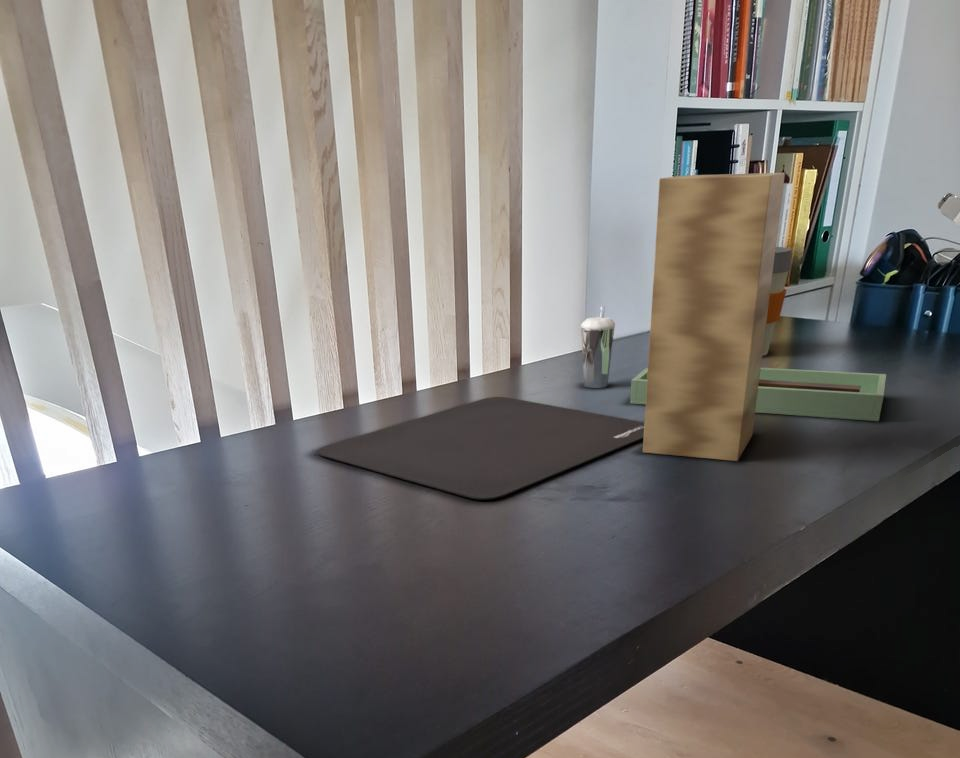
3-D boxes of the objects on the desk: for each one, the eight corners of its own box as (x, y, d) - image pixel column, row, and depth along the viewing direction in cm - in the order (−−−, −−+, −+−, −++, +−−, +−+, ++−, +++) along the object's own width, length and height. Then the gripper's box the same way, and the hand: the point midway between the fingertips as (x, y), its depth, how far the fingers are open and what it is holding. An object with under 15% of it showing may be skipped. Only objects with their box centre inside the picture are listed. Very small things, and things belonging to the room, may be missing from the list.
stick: (857, 402, 106) (860, 385, 105) (856, 406, 104) (859, 389, 103) (665, 388, 115) (667, 373, 114) (662, 392, 113) (663, 376, 112)
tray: (881, 398, 109) (886, 374, 107) (878, 421, 100) (883, 395, 98) (652, 384, 120) (653, 361, 118) (630, 403, 111) (631, 380, 109)
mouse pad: (487, 503, 79) (487, 501, 79) (308, 452, 95) (308, 450, 95) (668, 428, 99) (668, 426, 99) (495, 396, 115) (495, 395, 115)
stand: (752, 435, 96) (785, 172, 84) (737, 461, 88) (771, 175, 76) (664, 428, 100) (682, 175, 87) (642, 452, 92) (659, 178, 79)
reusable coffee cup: (685, 356, 136) (694, 252, 128) (715, 342, 144) (725, 245, 137) (764, 363, 129) (778, 254, 122) (790, 348, 138) (804, 246, 131)
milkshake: (616, 381, 122) (619, 306, 117) (608, 390, 117) (611, 313, 112) (584, 380, 123) (586, 306, 118) (576, 388, 119) (577, 312, 114)
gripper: (1063, 236, 98) (960, 170, 99) (1094, 253, 81) (971, 173, 82) (1018, 287, 102) (920, 222, 102) (1039, 312, 85) (922, 235, 86)
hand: (943, 200), depth 92 cm, fingers open, 8 cm apart
